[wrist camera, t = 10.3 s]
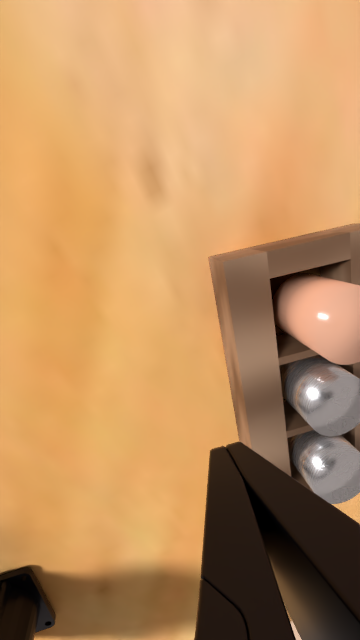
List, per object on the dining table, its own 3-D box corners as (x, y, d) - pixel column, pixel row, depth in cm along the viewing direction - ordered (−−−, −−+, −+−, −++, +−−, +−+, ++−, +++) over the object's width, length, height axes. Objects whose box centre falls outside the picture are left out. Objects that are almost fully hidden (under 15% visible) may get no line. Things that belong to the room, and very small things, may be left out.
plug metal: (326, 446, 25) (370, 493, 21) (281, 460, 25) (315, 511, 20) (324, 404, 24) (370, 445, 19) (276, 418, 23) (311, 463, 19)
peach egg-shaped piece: (331, 326, 20) (389, 353, 16) (274, 341, 20) (318, 373, 16) (328, 266, 19) (390, 278, 15) (268, 281, 19) (313, 297, 14)
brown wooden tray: (357, 452, 26) (385, 479, 24) (247, 486, 25) (263, 519, 22) (352, 223, 20) (389, 223, 18) (208, 256, 19) (223, 262, 16)
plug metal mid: (323, 387, 23) (370, 425, 19) (274, 402, 23) (310, 444, 18) (320, 339, 22) (370, 368, 18) (268, 354, 22) (305, 386, 17)
